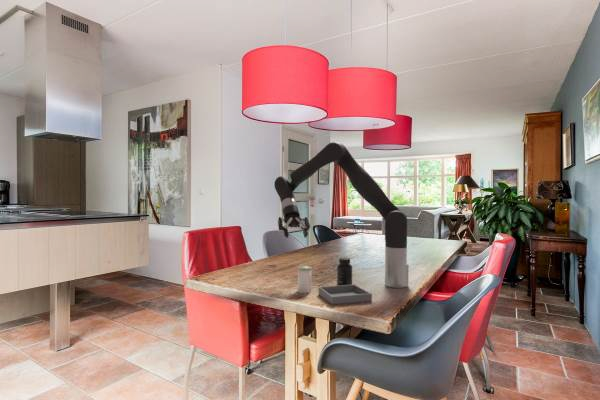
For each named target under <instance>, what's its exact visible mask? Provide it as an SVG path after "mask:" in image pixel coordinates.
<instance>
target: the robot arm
mask: <svg viewBox="0 0 600 400" xmlns="http://www.w3.org/2000/svg"><path fill="white" fill-rule="evenodd" d="M331 163H335V164H337V165H338V166H339V168H341V169H342V170H343V172H344V173H345V174H346V176H347V178H348V181H349V183H350V184H351V185H352V187H353V188H354V190H355V191H356V193H358V195H360V196H361V197H362V199H364V201H365V202H367V203H368V204H370V206H372V207H373V208H374V209H375V210H376V211H377V212H378V214H379V215H380V216H381V217H382V218H383V220H384V221H385V222H384V241H385V242H384V244H385V245H384V247H385V248H384V249H385V251H384V252H385V253H384V265H385V266H384V286H386V287H389V288H395V289H403V288H406V287H409V271H410V270H409V264H408V260H407V258H408V253H407V252H408V217H407V215H406V214H405V212H403V211H402V210H401V209H399V207H397V206H396V205H395V204H394V203H393V202H392V201H391V200H390V199H389V198H388V196H387V195H386V193H385V192H384V190H383V189H382V188H381V186H380V185H379V184H378V183H377V182H376V180H374V178H373V177H372V176H371V175H370V174H369V173H368V172H367V170H366V169H364V168H363V167H362V165H360V164H359V163H358V162H357V160H355V158H354V156H353V155H352V154H351V153H350V152H349V149H347V147H346V146H345V145H344V144H343V143H341V142H338V141H337V142H336V141H332V142H329V143H328V144H327V145H325V146H324V148H322V149H321V150H320V151H319V152H318V153H317V154H316V155H315V156H314V157H312V158H311V159H309V160H307V162H305V163H303V164H302V165H300V166H299V167H298V168H295V169H294V170H293V171H292V172H290V180H289V179H288V178H287V177H285V176H283V175H282V176H278V177H276V178H275V179H274V180H275V181H274V185H273V186H274V188H275V191H276V193H277V195H278V197H279V199H280V203H281V204H280V205H281V211H282V212H281V213H282V216H283V218H282V217H281V216H279V217H278V220H277V225H278V230H279V231H282V232H283V236H284V237H285V238H286V239H287V238H289V236H290V235H289V230H288V229H289V227H290V228H298V230H301V231H302V233H303V237H304V238H307V237H308V235H309V232H308V231H309V230H310V228H311V225H310V222H309V220H308V217H306V216H305V217H304V218H302V217H301V214H300V211H299V207H298V203H297V201H296V198H295V195H294V191H295V190H297V188H298V187H299V186H300V184H302V183H303V182H305V181H307V180H308V179H310V178H311V177H312V176H313V175H314V174H315V173H316V172H317V171H319V170H320V169H322V168H323V167H325V166H327V165H329V164H331ZM283 223H284V224H285V225H284V226H283Z"/></svg>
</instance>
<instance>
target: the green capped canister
mask: <svg viewBox="0 0 600 400" xmlns="http://www.w3.org/2000/svg"><path fill="white" fill-rule="evenodd" d="M312 268H313V267H312V266H310V265H299V266H297V292H298V293H300V294H310V293H311V292H312V270H313V269H312Z"/></svg>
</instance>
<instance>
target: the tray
mask: <svg viewBox="0 0 600 400" xmlns="http://www.w3.org/2000/svg"><path fill="white" fill-rule="evenodd" d="M318 295H319V296H320V297H321V298H322V299H324V300H325V301H327V302H328V303H329V304H330V305H331V306H340V305H341V306H342V305H349V304H351V305H352V304H360V303H362V304H363V303H372V301H373V300H372V299H373V293H372V292H370V291H367V290H366V289H365V288H362V287H360V286H358V285H357V284H354V283H353V284H352V285H340V286H338V285H332V286H331V285H330V286H328V285H327V286H318Z"/></svg>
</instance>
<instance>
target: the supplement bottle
mask: <svg viewBox="0 0 600 400" xmlns="http://www.w3.org/2000/svg"><path fill="white" fill-rule="evenodd" d="M340 285H353V265H352V264H351V258H349V257H340V258H339V259H338V264H337V266H336V286H340Z"/></svg>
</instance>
